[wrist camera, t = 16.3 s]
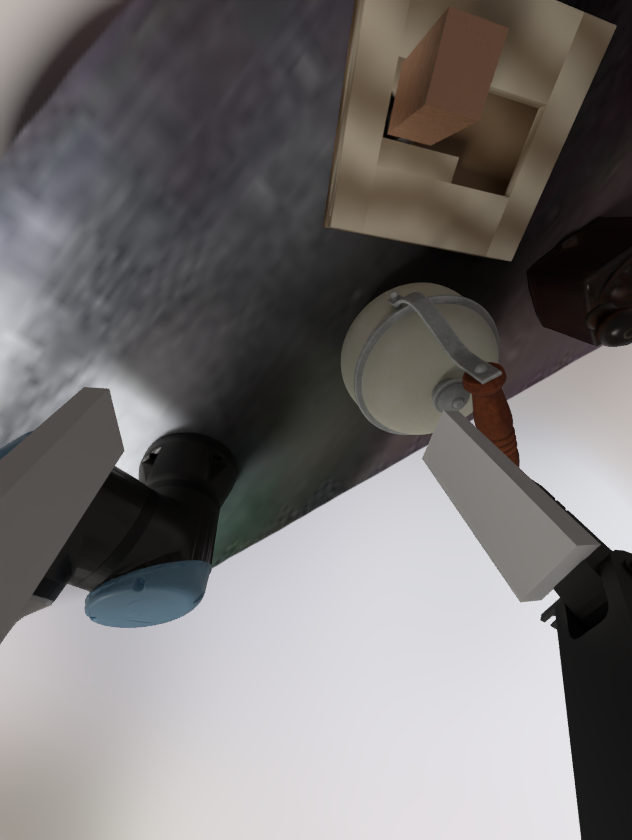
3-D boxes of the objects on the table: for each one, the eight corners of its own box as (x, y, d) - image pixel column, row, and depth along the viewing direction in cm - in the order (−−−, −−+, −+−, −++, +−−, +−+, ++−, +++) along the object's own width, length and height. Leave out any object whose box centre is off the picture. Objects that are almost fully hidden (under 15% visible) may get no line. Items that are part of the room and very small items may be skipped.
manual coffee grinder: (600, 209, 37) (821, 195, 22) (609, 282, 43) (791, 310, 28) (488, 292, 41) (613, 328, 26) (510, 349, 47) (623, 405, 32)
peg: (404, 167, 31) (482, 132, 20) (359, 156, 30) (415, 113, 19) (420, 101, 28) (520, 18, 17) (371, 86, 27) (445, -12, 16)
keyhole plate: (485, 257, 39) (511, 261, 34) (323, 226, 34) (330, 226, 30) (567, 54, 29) (616, 25, 25) (358, -24, 25) (376, -75, 21)
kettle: (304, 312, 39) (345, 405, 19) (431, 232, 36) (649, 238, 16) (374, 435, 53) (443, 569, 32) (471, 385, 50) (617, 497, 29)
